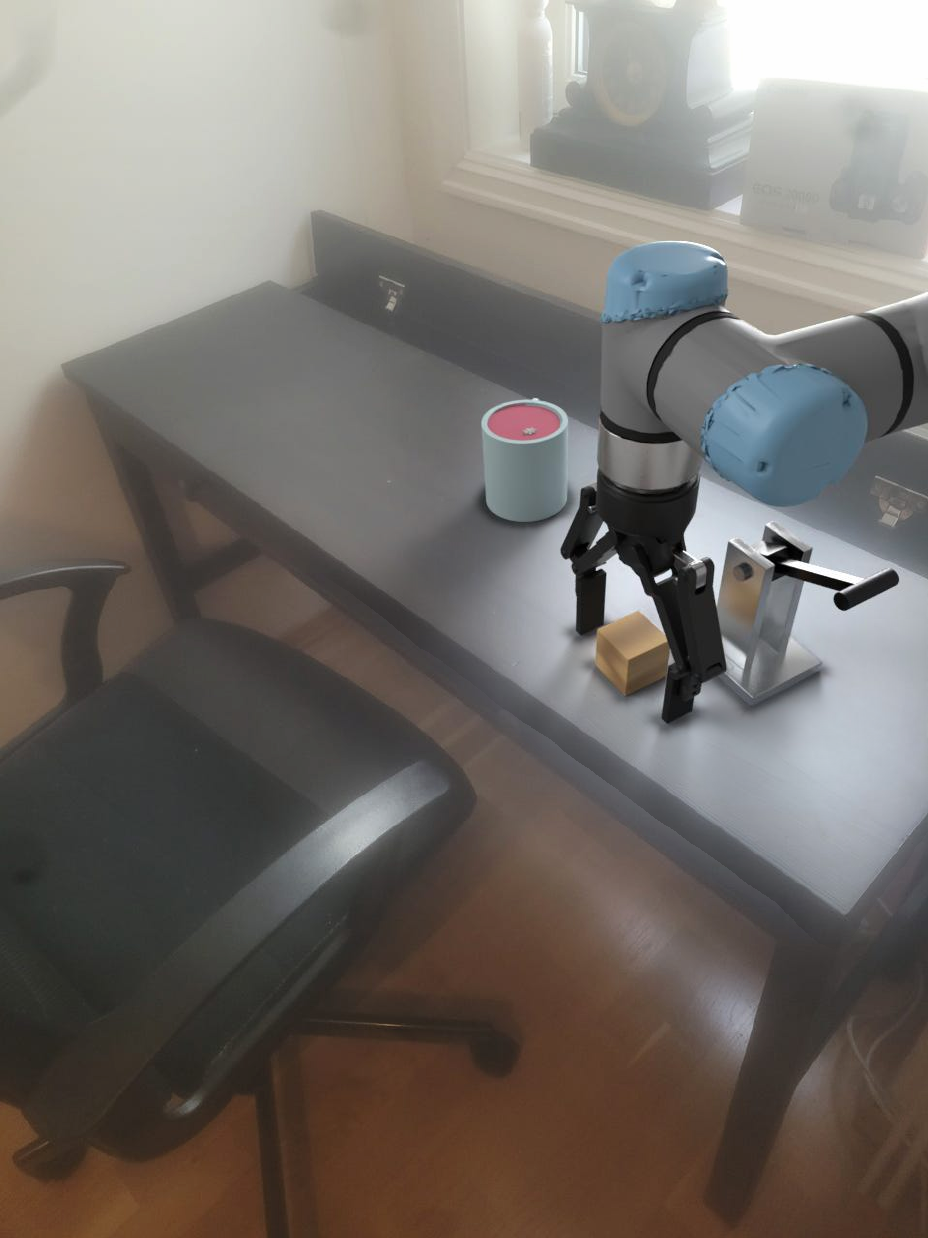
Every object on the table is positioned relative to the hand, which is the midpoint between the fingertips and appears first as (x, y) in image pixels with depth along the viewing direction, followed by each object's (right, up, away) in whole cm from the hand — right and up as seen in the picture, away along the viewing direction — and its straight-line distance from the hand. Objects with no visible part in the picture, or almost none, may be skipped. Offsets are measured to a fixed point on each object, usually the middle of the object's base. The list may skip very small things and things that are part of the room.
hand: (630, 669), depth 78 cm
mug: (-7, +20, +23) cm, 31 cm away
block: (0, 0, 0) cm, 0 cm away
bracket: (+11, +1, +1) cm, 11 cm away
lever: (+12, +7, -10) cm, 18 cm away
